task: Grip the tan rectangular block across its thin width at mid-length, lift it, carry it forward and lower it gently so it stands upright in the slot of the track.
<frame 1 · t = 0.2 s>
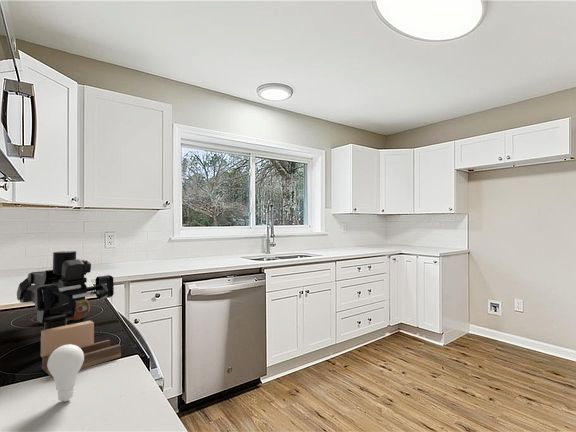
hand: (89, 296, 87), 16 cm above the worktop, tool horizontal, fingers open, 9 cm apart
track: (83, 362, 85), on the worktop
tin: (66, 320, 125), on the worktop
lightbulb: (65, 402, 67), on the worktop
tan rectangular block: (68, 351, 93), on the worktop
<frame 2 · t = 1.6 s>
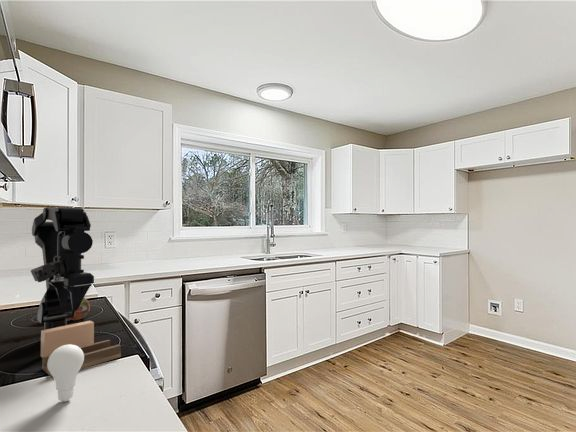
hand: (68, 307, 94), 12 cm above the worktop, tool pointing down, fingers open, 9 cm apart
nothing on the worktop moved.
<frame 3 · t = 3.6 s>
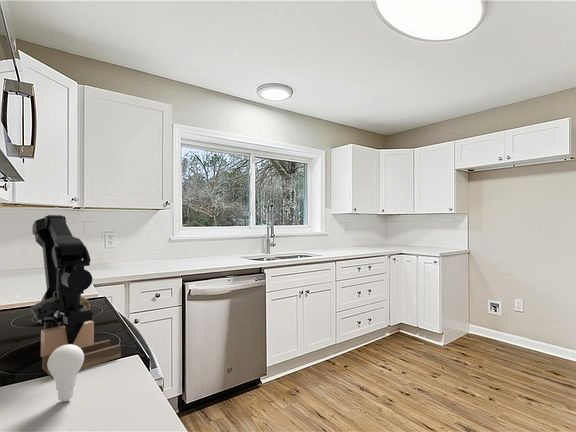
hand: (68, 343, 93), 2 cm above the worktop, tool pointing down, fingers closed on tan rectangular block, 3 cm apart
tan rectangular block: (68, 351, 93), on the worktop, touching gripper
everything else where it was.
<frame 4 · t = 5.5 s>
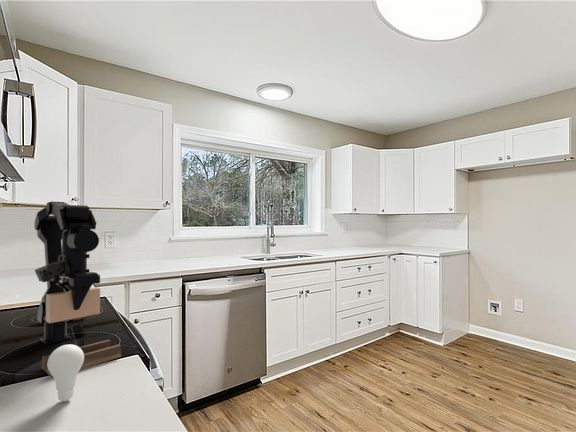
hand: (74, 308, 91), 12 cm above the worktop, tool pointing down, fingers closed on tan rectangular block, 3 cm apart
tan rectangular block: (74, 317, 91), point 10 cm above the worktop, touching gripper
everything else where it was.
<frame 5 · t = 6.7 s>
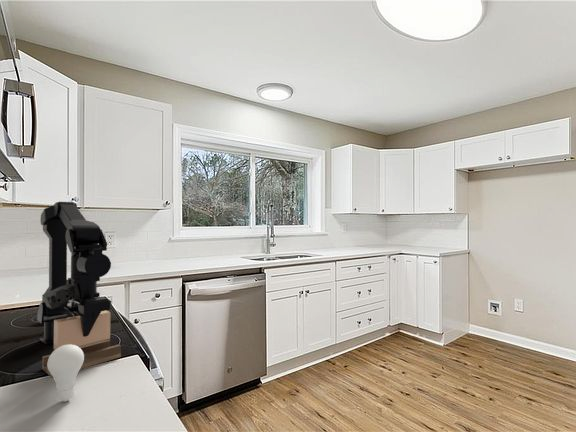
hand: (83, 334, 86), 7 cm above the worktop, tool pointing down, fingers closed on tan rectangular block, 3 cm apart
tan rectangular block: (83, 343, 86), point 5 cm above the worktop, touching gripper
everything else where it was.
when the fingers open (4 cm above the worktop, at t = 7.7 s): tan rectangular block stays where it is, resting on track.
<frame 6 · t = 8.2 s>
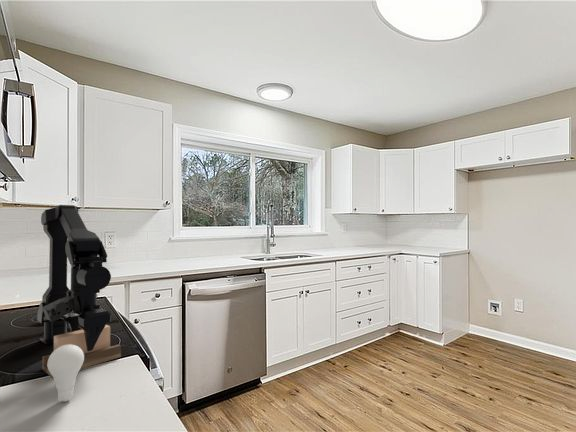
hand: (83, 346, 86), 4 cm above the worktop, tool pointing down, fingers open, 8 cm apart
tan rectangular block: (83, 358, 85), point 1 cm above the worktop, touching track
everything else where it was.
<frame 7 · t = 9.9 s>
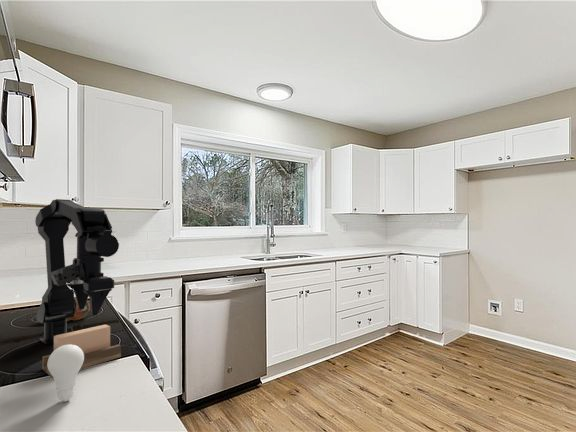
hand: (87, 312, 91), 12 cm above the worktop, tool pointing down, fingers open, 9 cm apart
nothing on the worktop moved.
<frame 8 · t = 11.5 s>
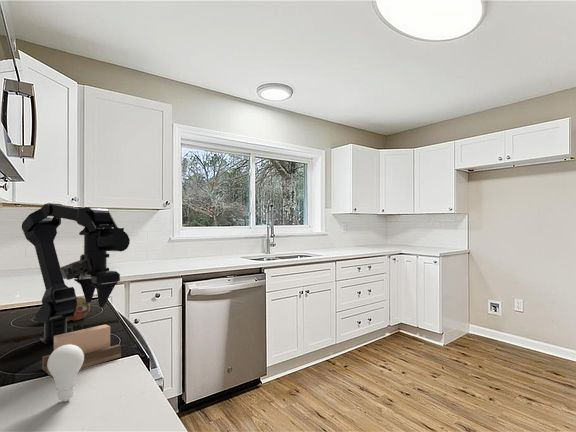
hand: (94, 304, 97), 12 cm above the worktop, tool pointing down, fingers open, 9 cm apart
nothing on the worktop moved.
at the end: tan rectangular block 0.1 cm off-centre on the track, point 1.0 cm above the track's base; tan rectangular block tilted 0°; the gripper is holding nothing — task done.
